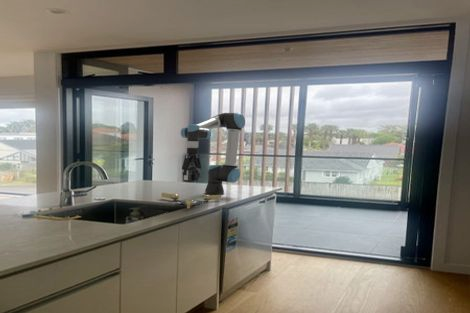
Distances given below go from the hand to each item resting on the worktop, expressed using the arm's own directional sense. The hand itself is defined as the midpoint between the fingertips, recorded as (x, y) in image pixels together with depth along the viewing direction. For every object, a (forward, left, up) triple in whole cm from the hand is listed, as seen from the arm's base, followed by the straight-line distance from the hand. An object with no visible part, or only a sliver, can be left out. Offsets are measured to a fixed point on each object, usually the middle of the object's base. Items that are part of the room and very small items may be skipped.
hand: (191, 179), depth 243 cm
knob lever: (0, -17, -16) cm, 23 cm away
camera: (0, 0, -2) cm, 2 cm away
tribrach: (0, 0, -16) cm, 16 cm away
